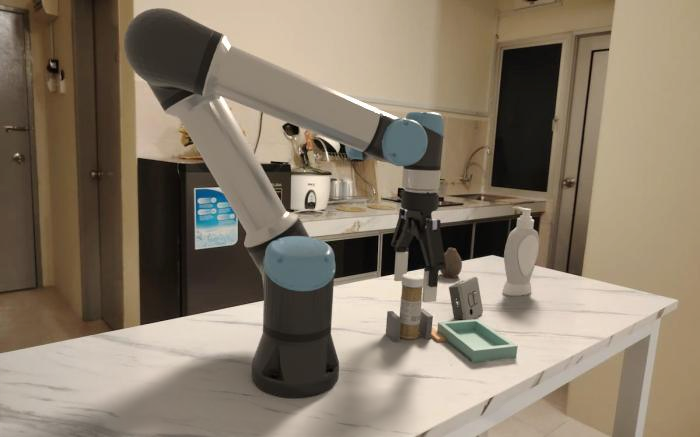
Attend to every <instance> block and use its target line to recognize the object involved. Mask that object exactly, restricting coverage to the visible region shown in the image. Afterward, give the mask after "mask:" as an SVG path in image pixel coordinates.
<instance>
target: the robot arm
mask: <svg viewBox="0 0 700 437" xmlns="http://www.w3.org/2000/svg"><path fill="white" fill-rule="evenodd" d="M123 47H124V54H125V57H126V60H127V62H128V64H129V66H130V67H131V68H132V71H133V72H134V73H135V74H137V76H138V77H140V78H141V79H142V80H143V81H145V82H146V84H148V86H149V88H150V90H151V91H152V93H153V95H154V96H155V98H156V100H157V101H158V103H159V105H160V106H161V108H162V109H163V111H164V113H165V114H167V115H170V116H172V117H176V118H177V119H179V121H180V122H181V124H182V126H183V127H184V129H185V132H186V134H188V137H189V138H190V140H191V141H192V143H193V145H194V146H195V148H196V149H197V150H196V151H198V153H199V155H200V156H201V158H202V160H203V161H204V164H205V165H206V167H207V168H208V170H209V172H210V173H211V176H212V177H213V179H214V180H215V182H216V184H217V185H218V187H219V189H220V191H221V192H222V194H223V196H224V197H225V199H226V200H227V203H229V206H230V207H231V209H232V211H233V212H234V214H235V216H236V217H237V219H238V222H240V224H241V226H242V227H243V229H244V231H245V234H246V235H245V237H244V238H245V239H244V243H243V244H244V247H245V249H246V251H247V253H248V254H249V255H250V257H251V259H252V261H253V262H254V264H255V266H256V268H257V270H258V271H259V273H260V274H261V280H262V285H263V314H262V316H263V318H262V333H261V337H260V340H259V342H258V345H257V348H256V349H255V353H254V356H253V359H252V362H251V375H250V377H251V380H252V382H253V384H254V385H255V386H256V387H257V388H258V389H259V390H261V391H263V392H265V393H267V394H270V395H274V396H278V397H283V398H284V397H285V398H304V397H311V396H316V395H319V394H322V393H325V392H326V391H328V390H330V389H331V388H333V387H334V386H335V385H336V384H337V382H338V380H339V377H340V362H339V361H340V360H339V358H338V354H337V351H336V348H335V347H336V346H335V344H334V340H333V336H332V320H333V319H332V318H333V302H334V285H335V284H334V282H335V274H336V261H335V253H334V250H333V248H332V247H331V246H330V245H329V244H328V243H327V242H325V241H323V240H318V239H317V238H314V237H311V236H310V235H309V233H308V232H307V229H306V228H305V226H304V225H303V222H302V221H301V219H300V216H299V215H298V214H297V213H293V212H291V211H287V210H286V208H285V206H284V204H283V203H282V201H281V199H280V198H279V196H278V194H277V192H276V190H275V188H274V186H273V185H272V183H271V181H270V179H269V177H268V175H267V174H266V172H265V170H264V168H263V166H262V164H261V162H260V161H259V160H258V158H257V156H256V153H255V152H254V150H253V148H252V146H251V145H250V143H249V141H248V139H247V138H246V136H245V134H244V132H243V131H242V129H241V126H240V124H239V123H238V122H237V119H236V118H235V116H234V114H233V112H232V110H231V109H230V107H229V105H228V103H227V101H226V99H227V100H230V101H232V102H234V103H237V104H240V105H242V106H245V107H247V108H249V109H253V110H256V111H257V112H259V113H263V114H265V115H268V116H270V117H273V118H275V119H278V120H280V121H282V122H285V123H287V124H290V125H293V126H296V127H299V128H301V129H303V130H305V131H309V132H311V133H314V134H316V135H318V136H321V137H323V138H326V139H329V140H331V141H333V142H337V143H339V144H340V145H341V144H342V145H344V148H345V149H344V150H345V152H346V155H347V157H348V158H350V159H354V160H361V161H364V160H374V161H378V162H381V163H382V162H383V163H388V164H392V165H393V166H396V167H402V178H401V180H402V181H401V187H402V189H403V190H402V191H401V199H400V207H401V208H399V211H398V213H399V214H398V218H397V219H398V220H397V223H396V225H395V230H394V232H393V236H392V240H391V242H390V245H391V247H393V248H394V251H395V257H394V258H395V260H394V277H393V280H394V282H402V276H403V275H404V274H407V273H408V264H409V263H408V262H409V261H408V260H409V251H410V248H409V246H410V244H411V242H412V241H413V238H414V237H415V238H416V240H418V242H419V245H420V248H421V252H422V255H423V256H422V257H423V259H424V262H425V267H424V269H423V277H424V281H423V288H422V303H432V302H433V303H434V302H437V296H438V295H437V294H438V293H437V292H438V282H439V272H440V270H445V269H446V263H445V256H444V253H445V251H444V250H445V249H444V244H443V238H442V234H441V219H440V218H432V217H433V215H432V213H433V212H436V211H438V208H439V198H440V193H439V192H438V190H439V189H440V182H441V177H442V175H441V168H442V167H441V166H442V156H443V146H444V145H443V144H444V138H445V135H444V133H445V130H444V129H445V124H444V123H445V122H444V121H445V120H444V116H443V115H441V113H439V112H425V111H409V112H408V113H407V114H406V117H404V118H403V117H399V116H398V117H397V116H395V115H392V114H390V113H388V112H386V111H383V110H381V109H378V108H377V107H374V106H372V105H369V104H368V103H365V102H363V101H361V100H358V99H356V98H353V97H351V96H349V95H347V94H344V93H342V92H340V91H338V90H335V89H333V88H330V87H328V86H326V85H324V84H321V83H318V82H316V81H315V80H312V79H309V78H308V77H305V76H303V75H300V74H298V73H295V72H293V71H291V70H289V69H286V68H284V67H283V66H279V65H277V64H275V63H273V62H270V61H269V60H268V61H267V60H265V59H264V58H261V57H258V56H257V55H254V54H252V53H249V52H247V51H245V50H243V49H240V48H238V47H235V46H233V45H231V44H230V41H229V40H228V38H227V35H225V34H223V33H221V32H218V31H216V30H214V29H213V28H210V27H208V26H206V25H204V24H202V23H199V22H198V21H196V20H194V19H193V18H190V17H189V16H186V15H184V14H183V13H180V12H179V11H175V10H173V9H170V8H169V9H168V8H163V7H158V8H150V9H147V10H144V11H142V12H141V13H138V14H137V15H136V16H135V17H134V18H133V19H131V21H130V23H129V24H128V25H127V27H126V30H125V33H124V38H123Z"/></svg>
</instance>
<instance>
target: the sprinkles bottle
mask: <svg viewBox="0 0 700 437" xmlns="http://www.w3.org/2000/svg"><path fill="white" fill-rule="evenodd" d="M423 281H424V275H422V274H419V273H415V272H414V273H412V272H410V273H408V272H407V274H404V275H403V276H402V281H401V286H402V287H401V295H400V305H399V317H400V318H401V326H400V338H402V339H405V340H416V339H418V338H419V336H420V333H419V323H420V315H421V309H422V304H423V301H422V296H423Z"/></svg>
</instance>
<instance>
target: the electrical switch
mask: <svg viewBox="0 0 700 437" xmlns="http://www.w3.org/2000/svg"><path fill="white" fill-rule="evenodd" d="M448 291H449V292H448V293H449V296H450V302H451V303H450V304H451V308H452V309H451V310H452V314H453V319H457V320H458V319H459V320H473V319H477V317H479V316H480V315H483V312H484V308H483V303H482V297H481V291H480V286H479V278H478V277H477V276H472V277H469V278H467V279H466V280H461V281H458V282H457V283H453V284H451V285H450V286H448Z"/></svg>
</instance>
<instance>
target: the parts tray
mask: <svg viewBox="0 0 700 437" xmlns="http://www.w3.org/2000/svg"><path fill="white" fill-rule="evenodd" d="M436 331H438V332H439V333H440V334H441V335H442V336H444V337H445V338H446V341H445V342H447V343H448V344H449V345H450V346H452V347H453V348H454V349H456V350H457V351H458V352H459V353H461V355H463V356H464V357H465V358H466V359H468V361H469V362H471V363H472V364H475V363H483V362H490V361H493V362H494V361H500V360H508V359H516V358H517V354H518V345H517V344H515V343H514V342H512V341H511V340H509V339H508V338H506V337H505V336H503V335H502V334H500V333H499V332H498V331H496V330H495V329H493V328H491V327H490V326H489V325H487V324H485V323H484V322H482V321H481V320H479V319H478V318H474V319H473V320H463V319H460V320H451V321H439V322H437V330H436Z"/></svg>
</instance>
